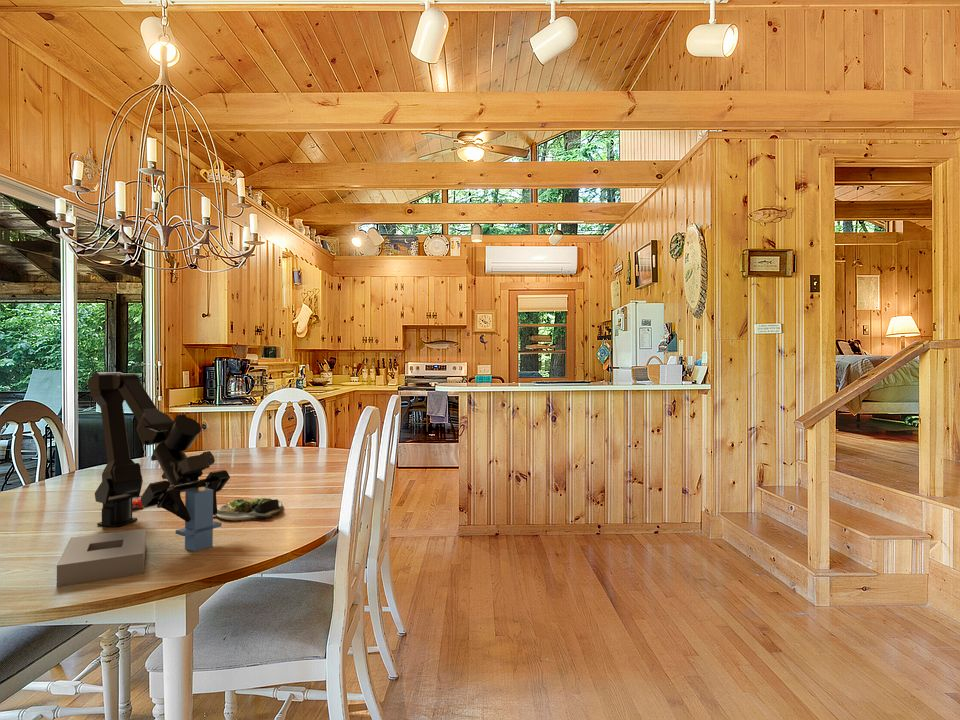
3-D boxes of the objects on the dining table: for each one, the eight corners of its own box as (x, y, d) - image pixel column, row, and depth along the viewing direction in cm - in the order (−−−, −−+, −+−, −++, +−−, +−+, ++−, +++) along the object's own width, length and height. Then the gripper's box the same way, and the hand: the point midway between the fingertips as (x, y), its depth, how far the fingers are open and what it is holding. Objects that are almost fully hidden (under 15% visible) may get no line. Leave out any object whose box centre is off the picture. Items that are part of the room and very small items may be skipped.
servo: (175, 551, 124) (175, 489, 124) (211, 540, 132) (212, 482, 132) (184, 554, 123) (185, 492, 122) (221, 543, 130) (221, 484, 130)
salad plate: (200, 527, 143) (200, 509, 143) (211, 508, 160) (211, 492, 160) (280, 521, 149) (280, 504, 149) (283, 504, 166) (283, 488, 166)
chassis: (70, 556, 121) (70, 537, 121) (145, 545, 128) (146, 528, 128) (56, 586, 105) (56, 565, 105) (143, 573, 112) (143, 553, 112)
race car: (145, 510, 158) (145, 496, 158) (122, 513, 154) (122, 499, 154) (136, 500, 168) (136, 487, 168) (114, 503, 164) (114, 489, 164)
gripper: (148, 446, 121) (177, 505, 116) (225, 436, 137) (254, 487, 132) (128, 478, 125) (155, 536, 120) (205, 465, 141) (233, 515, 136)
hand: (202, 517), depth 126 cm, fingers open, 6 cm apart
